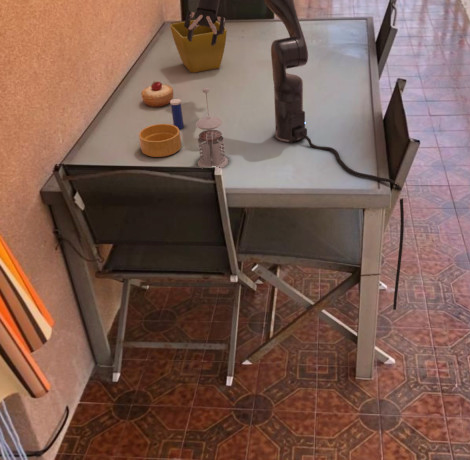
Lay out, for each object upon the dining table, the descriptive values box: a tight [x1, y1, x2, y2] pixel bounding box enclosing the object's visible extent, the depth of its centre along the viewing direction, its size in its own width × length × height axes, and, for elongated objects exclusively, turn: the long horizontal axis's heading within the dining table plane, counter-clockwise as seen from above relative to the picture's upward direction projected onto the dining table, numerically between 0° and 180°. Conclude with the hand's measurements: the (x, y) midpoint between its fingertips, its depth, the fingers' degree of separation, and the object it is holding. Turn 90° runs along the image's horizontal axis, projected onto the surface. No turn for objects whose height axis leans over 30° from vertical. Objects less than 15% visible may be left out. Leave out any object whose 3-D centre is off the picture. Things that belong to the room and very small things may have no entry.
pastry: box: [140, 81, 174, 108], centre depth 247 cm, size 12×12×9 cm
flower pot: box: [169, 19, 228, 74], centre depth 274 cm, size 19×19×17 cm
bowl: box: [138, 123, 182, 158], centre depth 216 cm, size 13×13×6 cm
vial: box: [169, 98, 184, 130], centre depth 228 cm, size 4×4×10 cm
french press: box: [195, 87, 229, 169], centre depth 201 cm, size 10×12×25 cm
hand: (201, 43), depth 237 cm, fingers open, 8 cm apart
